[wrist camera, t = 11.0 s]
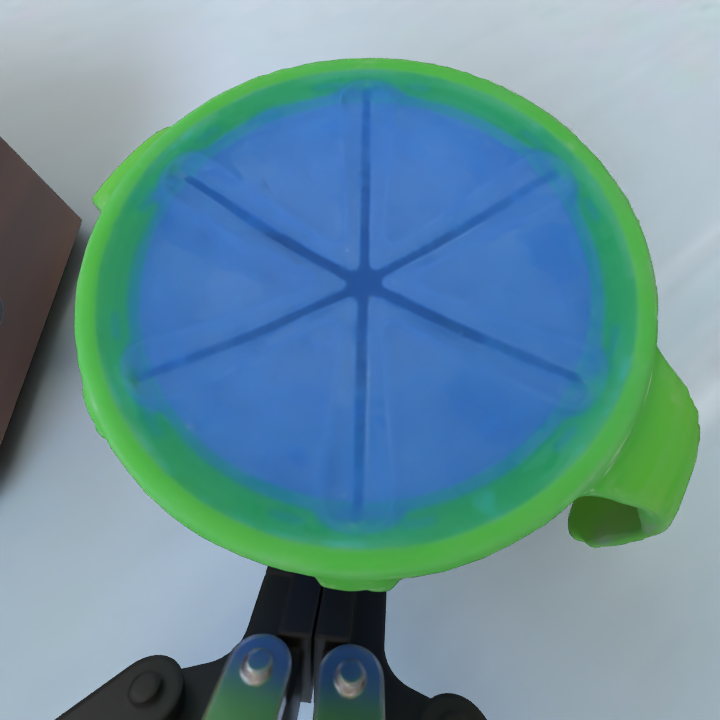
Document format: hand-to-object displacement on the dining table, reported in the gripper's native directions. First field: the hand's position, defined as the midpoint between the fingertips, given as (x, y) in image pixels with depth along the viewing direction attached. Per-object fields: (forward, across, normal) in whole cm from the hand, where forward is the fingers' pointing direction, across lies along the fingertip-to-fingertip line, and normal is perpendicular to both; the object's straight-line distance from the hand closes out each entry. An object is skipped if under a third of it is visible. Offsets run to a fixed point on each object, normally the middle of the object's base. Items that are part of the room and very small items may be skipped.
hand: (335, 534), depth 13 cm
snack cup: (+6, 0, -1) cm, 6 cm away
